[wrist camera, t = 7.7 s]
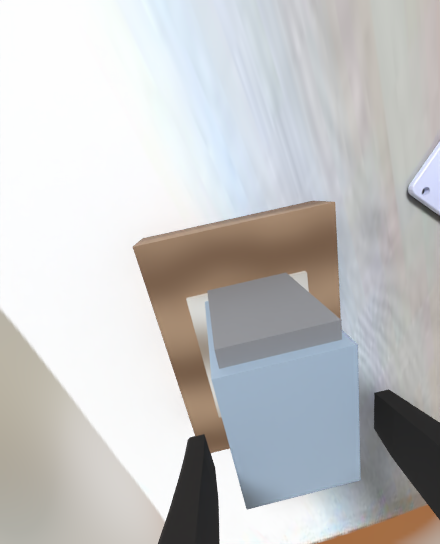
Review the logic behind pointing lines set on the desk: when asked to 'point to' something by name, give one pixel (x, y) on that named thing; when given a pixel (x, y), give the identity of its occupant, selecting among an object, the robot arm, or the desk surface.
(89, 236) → the desk surface
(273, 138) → the desk surface
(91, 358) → the desk surface
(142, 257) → the stand
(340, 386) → the block
